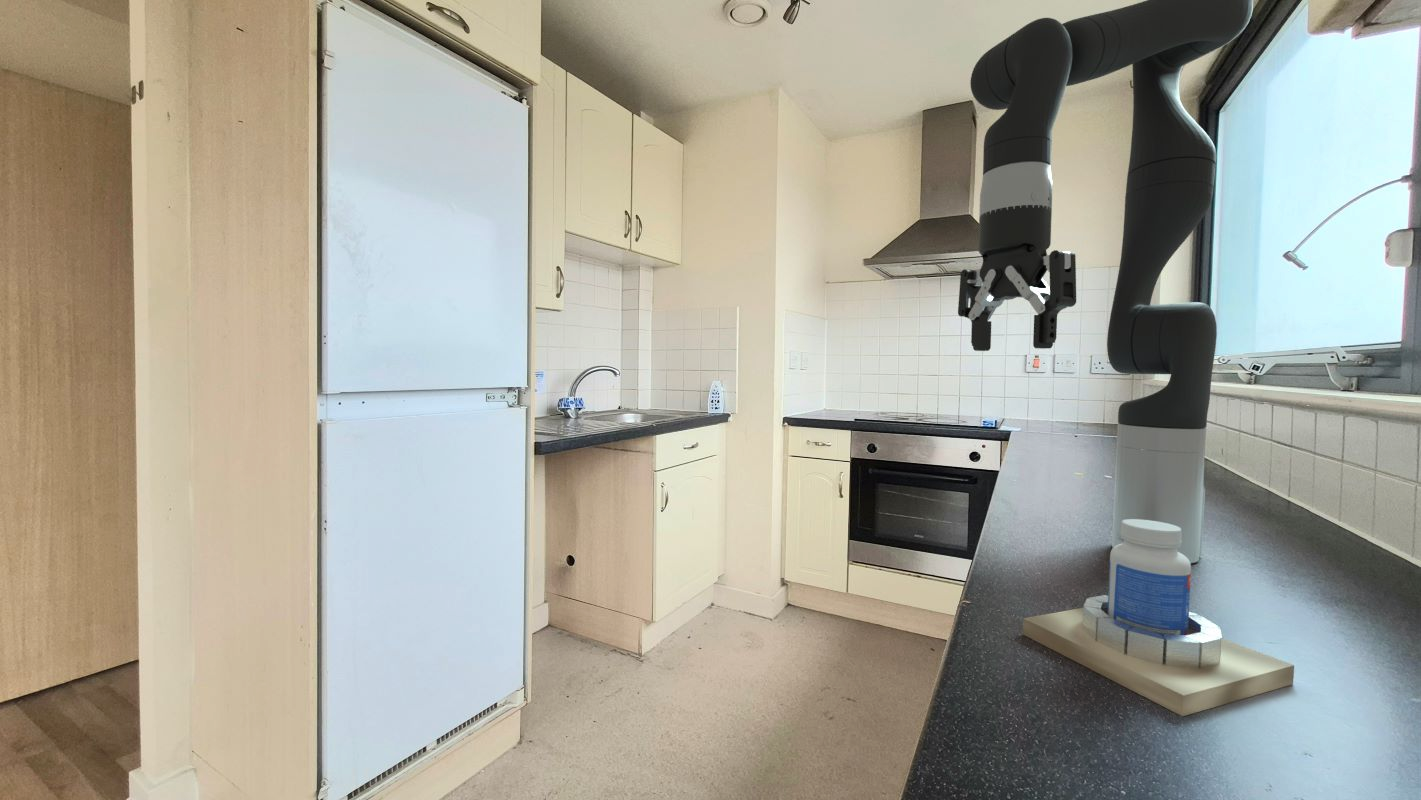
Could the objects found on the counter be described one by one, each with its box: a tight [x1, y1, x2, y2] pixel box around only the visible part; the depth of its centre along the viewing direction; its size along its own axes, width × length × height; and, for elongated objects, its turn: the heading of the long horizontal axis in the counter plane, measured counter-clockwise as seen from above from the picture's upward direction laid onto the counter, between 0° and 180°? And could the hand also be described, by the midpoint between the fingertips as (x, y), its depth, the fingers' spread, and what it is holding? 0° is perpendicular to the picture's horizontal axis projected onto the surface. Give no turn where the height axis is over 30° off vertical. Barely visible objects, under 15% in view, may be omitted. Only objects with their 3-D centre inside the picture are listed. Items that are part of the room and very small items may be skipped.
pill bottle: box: [1107, 519, 1192, 635], centre depth 48 cm, size 6×5×10 cm
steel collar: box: [1082, 594, 1222, 669], centre depth 48 cm, size 9×9×2 cm
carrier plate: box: [1022, 607, 1295, 717], centre depth 48 cm, size 13×13×2 cm
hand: (1010, 349), depth 67 cm, fingers open, 8 cm apart
